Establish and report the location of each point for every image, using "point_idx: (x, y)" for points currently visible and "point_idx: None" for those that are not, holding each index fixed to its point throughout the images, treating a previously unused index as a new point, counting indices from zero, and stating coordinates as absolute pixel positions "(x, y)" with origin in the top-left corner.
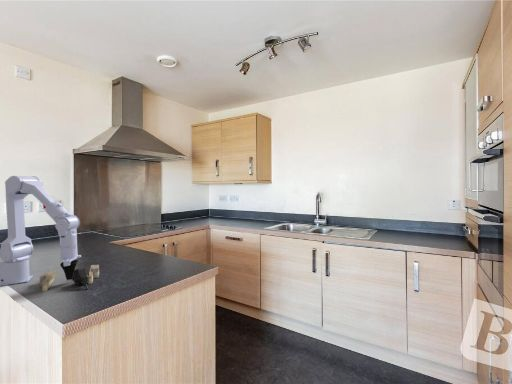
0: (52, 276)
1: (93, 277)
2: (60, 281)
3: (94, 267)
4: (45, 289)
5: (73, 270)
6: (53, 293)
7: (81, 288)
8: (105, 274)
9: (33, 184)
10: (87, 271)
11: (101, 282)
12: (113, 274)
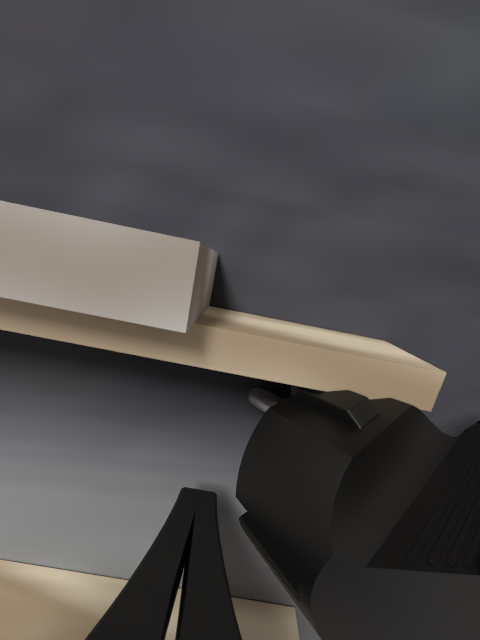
0: (28, 626)
1: (207, 303)
2: (106, 529)
3: (97, 291)
4: (295, 629)
5: (236, 625)
6: None
7: (446, 429)
8: (143, 160)
9: None
10: (376, 445)
11: (424, 258)
12: (214, 67)
